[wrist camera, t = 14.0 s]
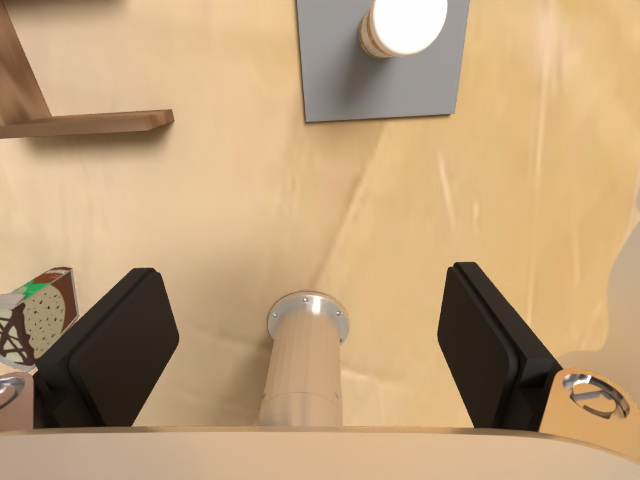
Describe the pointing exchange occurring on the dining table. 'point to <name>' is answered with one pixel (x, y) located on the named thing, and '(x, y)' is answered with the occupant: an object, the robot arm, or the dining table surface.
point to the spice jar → (401, 26)
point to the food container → (36, 317)
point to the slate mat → (375, 66)
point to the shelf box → (31, 109)
